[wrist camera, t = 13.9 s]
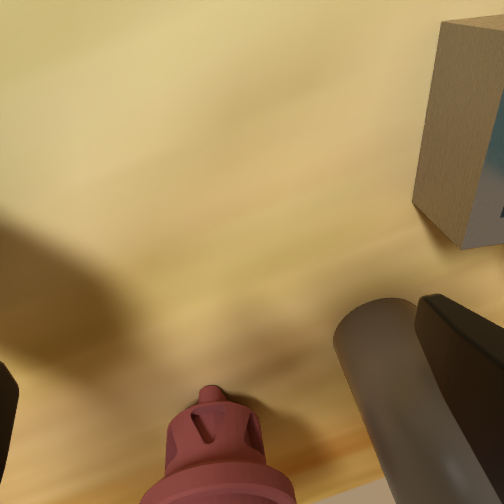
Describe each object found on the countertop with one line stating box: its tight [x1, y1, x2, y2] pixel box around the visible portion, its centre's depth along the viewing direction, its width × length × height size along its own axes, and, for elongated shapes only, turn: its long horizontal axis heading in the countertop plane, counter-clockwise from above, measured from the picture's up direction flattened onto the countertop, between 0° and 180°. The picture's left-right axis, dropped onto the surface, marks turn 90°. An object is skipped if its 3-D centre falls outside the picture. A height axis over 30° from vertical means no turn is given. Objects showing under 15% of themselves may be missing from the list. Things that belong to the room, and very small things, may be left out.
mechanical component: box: [140, 385, 297, 504], centre depth 26 cm, size 12×10×10 cm
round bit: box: [333, 298, 502, 504], centre depth 23 cm, size 7×7×13 cm
